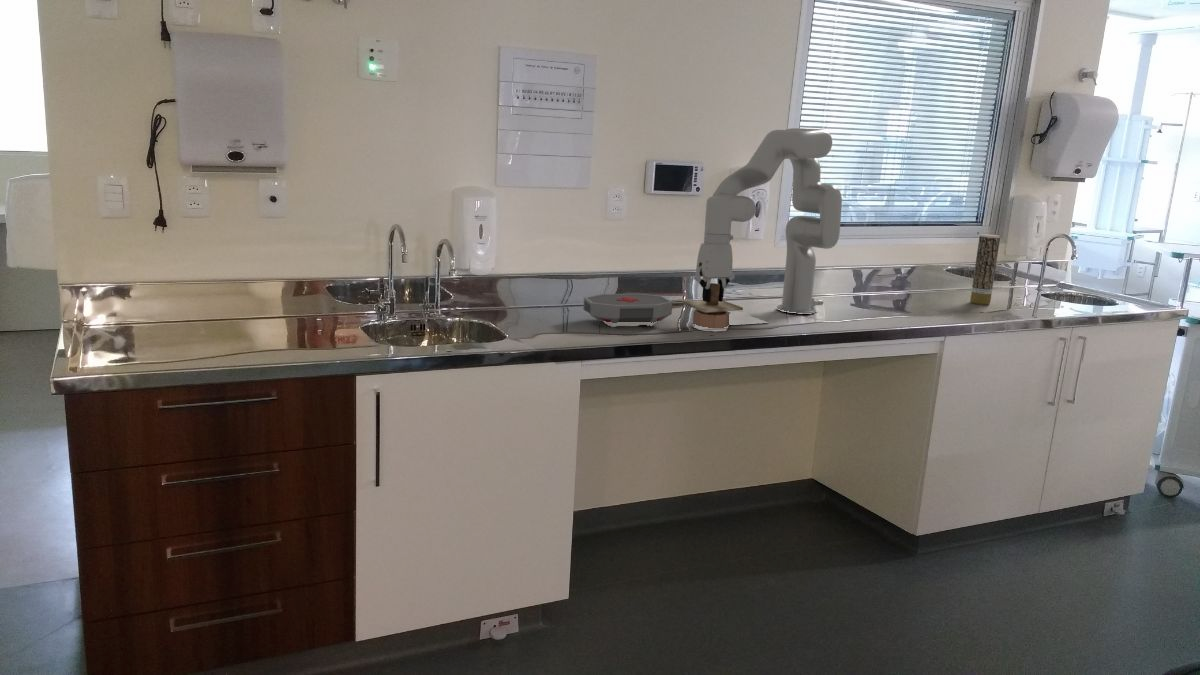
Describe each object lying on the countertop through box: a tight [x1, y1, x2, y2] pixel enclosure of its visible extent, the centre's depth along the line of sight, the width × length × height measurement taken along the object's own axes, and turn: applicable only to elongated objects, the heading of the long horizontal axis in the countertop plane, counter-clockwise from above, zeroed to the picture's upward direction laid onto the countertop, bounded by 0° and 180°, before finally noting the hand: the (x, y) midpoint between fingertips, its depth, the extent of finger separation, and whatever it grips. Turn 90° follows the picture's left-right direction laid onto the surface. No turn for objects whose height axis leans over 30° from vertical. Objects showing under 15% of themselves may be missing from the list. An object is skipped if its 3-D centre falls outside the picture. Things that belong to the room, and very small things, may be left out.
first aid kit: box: [582, 293, 673, 323], centre depth 257 cm, size 18×8×25 cm
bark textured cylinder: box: [969, 233, 1001, 306], centre depth 311 cm, size 7×7×25 cm
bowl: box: [692, 309, 731, 328], centre depth 256 cm, size 10×10×5 cm
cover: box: [681, 282, 744, 312], centre depth 254 cm, size 13×13×7 cm
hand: (712, 300), depth 255 cm, fingers closed on cover, 3 cm apart
